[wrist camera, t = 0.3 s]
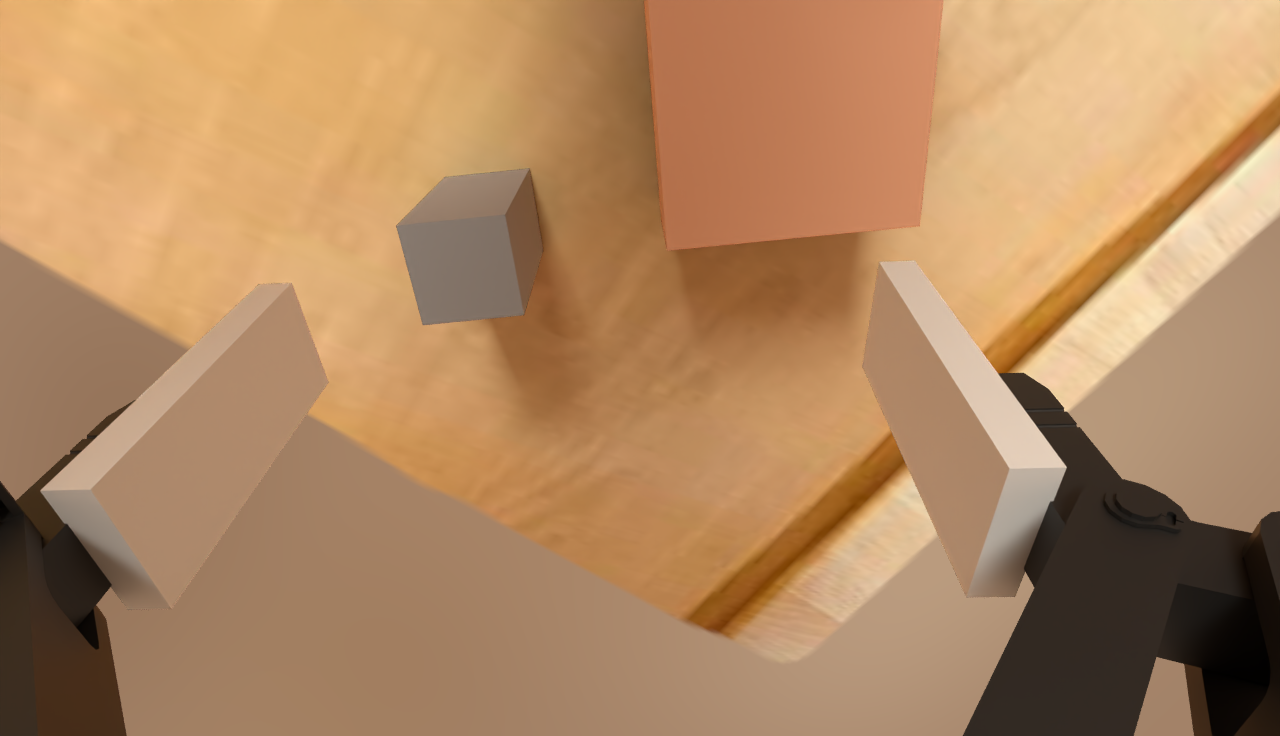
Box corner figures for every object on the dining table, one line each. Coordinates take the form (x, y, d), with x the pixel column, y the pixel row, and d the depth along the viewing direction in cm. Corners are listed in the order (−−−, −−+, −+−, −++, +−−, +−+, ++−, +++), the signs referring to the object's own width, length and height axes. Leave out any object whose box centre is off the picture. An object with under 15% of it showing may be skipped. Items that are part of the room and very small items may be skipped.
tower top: (641, -36, 31) (645, -42, 27) (903, -63, 31) (951, -74, 27) (661, 221, 37) (667, 250, 33) (883, 199, 37) (919, 226, 32)
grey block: (444, 177, 40) (396, 225, 31) (529, 168, 40) (505, 214, 31) (463, 258, 42) (422, 325, 33) (543, 250, 42) (524, 315, 33)
